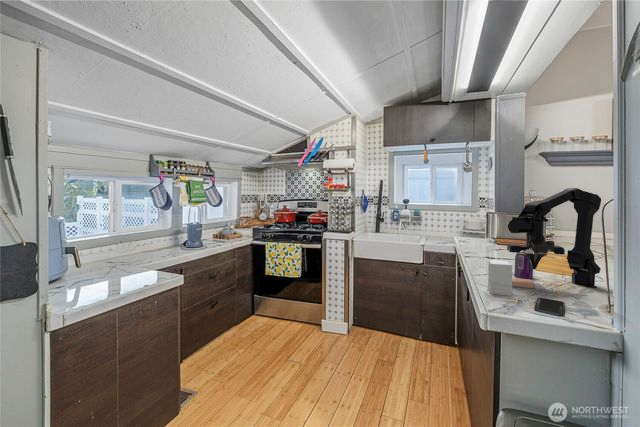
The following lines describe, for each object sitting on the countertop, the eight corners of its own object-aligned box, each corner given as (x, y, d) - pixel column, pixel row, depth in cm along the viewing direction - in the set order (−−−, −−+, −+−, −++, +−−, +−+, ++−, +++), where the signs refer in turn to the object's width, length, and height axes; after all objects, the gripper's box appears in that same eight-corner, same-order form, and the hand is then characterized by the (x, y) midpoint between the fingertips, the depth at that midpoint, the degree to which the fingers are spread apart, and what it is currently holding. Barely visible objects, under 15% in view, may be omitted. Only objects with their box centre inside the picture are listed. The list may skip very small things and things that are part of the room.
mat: (538, 284, 124) (539, 283, 124) (550, 293, 112) (550, 292, 112) (501, 281, 128) (502, 280, 128) (509, 289, 117) (509, 288, 117)
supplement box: (508, 291, 115) (509, 261, 114) (511, 297, 108) (512, 265, 108) (487, 289, 118) (488, 259, 118) (489, 294, 112) (490, 263, 111)
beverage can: (535, 280, 130) (536, 255, 129) (518, 279, 131) (519, 254, 131) (527, 276, 137) (528, 252, 136) (511, 275, 138) (512, 251, 137)
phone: (533, 308, 95) (537, 296, 107) (533, 312, 96) (537, 299, 107) (564, 315, 90) (565, 301, 101) (564, 318, 90) (565, 305, 101)
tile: (530, 279, 122) (503, 277, 126) (535, 283, 116) (507, 281, 120) (529, 284, 122) (503, 282, 126) (535, 288, 117) (506, 286, 120)
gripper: (514, 234, 114) (513, 272, 115) (571, 235, 107) (570, 276, 108) (506, 231, 124) (506, 266, 125) (559, 232, 118) (558, 268, 119)
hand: (534, 269), depth 119 cm, fingers closed
